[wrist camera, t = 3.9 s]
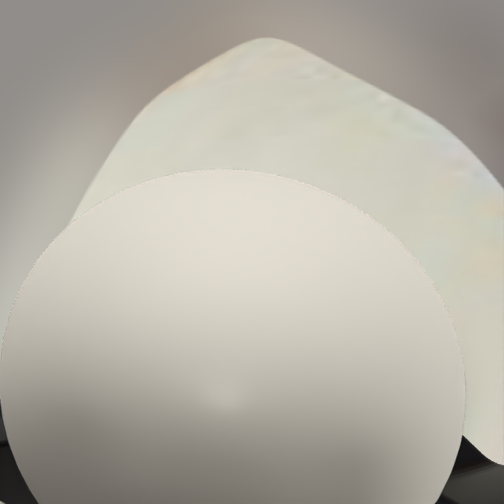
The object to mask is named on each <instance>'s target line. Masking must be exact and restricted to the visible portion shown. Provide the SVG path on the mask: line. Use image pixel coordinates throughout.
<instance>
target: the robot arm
mask: <svg viewBox="0 0 504 504" xmlns="http://www.w3.org/2000/svg"><path fill="white" fill-rule="evenodd" d="M0 504H39V503H38V502H37V500H36V499H35V497H34V496H33V494H32V493H31V491H30V489H29V487H28V486H27V484H26V482H25V480H24V478H23V476H22V474H21V472H20V470H19V468H18V466H17V463H16V461H15V458H14V455H13V453H12V450H11V447H10V444H9V442H8V438H7V434H6V430H5V426H4V421H3V417H2V409H1V401H0ZM435 504H504V465H500V464H497V463H495V462H493V461H491V460H490V459H488V458H487V457H485V456H484V455H483V454H482V453H481V452H480V451H479V450H478V449H477V448H476V447H475V446H474V445H472V444H471V443H470V442H469V441H468V440H467V439H466V438H465V437H464V436H463V435H462V438H461V443H460V447H459V450H458V454H457V457H456V460H455V463H454V466H453V468H452V471H451V474H450V476H449V478H448V480H447V482H446V484H445V486H444V488H443V490H442V492H441V494H440V496H439V498H438V500H437V501H436V503H435Z"/></svg>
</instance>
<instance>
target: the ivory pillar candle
mask: <svg viewBox="0 0 504 504" xmlns="http://www.w3.org/2000/svg"><path fill="white" fill-rule="evenodd" d="M0 401H1V409H2V417H3V421H4V426H5V430H6V434H7V438H8V442H9V444H10V447H11V450H12V453H13V455H14V458H15V461H16V463H17V466H18V468H19V470H20V472H21V474H22V476H23V478H24V480H25V482H26V484H27V486H28V487H29V489H30V491H31V493H32V494H33V496H34V497H35V499H36V500H37V502H38V503H39V504H435V503H436V501H437V500H438V498H439V496H440V494H441V492H442V490H443V488H444V486H445V484H446V482H447V480H448V478H449V476H450V474H451V471H452V468H453V466H454V463H455V460H456V457H457V454H458V450H459V447H460V443H461V438H462V433H463V427H464V421H465V411H466V380H465V372H464V365H463V358H462V352H461V348H460V345H459V341H458V338H457V334H456V331H455V328H454V324H453V322H452V320H451V317H450V315H449V313H448V311H447V308H446V306H445V304H444V302H443V300H442V298H441V296H440V294H439V292H438V290H437V289H436V287H435V286H434V284H433V283H432V281H431V280H430V278H429V277H428V275H427V274H426V272H425V271H424V269H423V268H422V266H421V265H420V264H419V263H418V261H417V260H416V259H415V258H414V257H413V256H412V255H411V253H410V252H409V251H408V250H407V249H406V248H405V247H404V246H403V244H402V243H401V242H400V241H399V240H398V239H397V238H395V237H394V236H393V235H392V234H391V233H390V232H388V231H387V230H386V229H385V228H384V227H383V226H381V225H380V224H379V223H378V222H377V221H375V220H374V219H373V218H372V217H370V216H368V215H367V214H365V213H364V212H362V211H361V210H359V209H358V208H356V207H354V206H353V205H351V204H350V203H348V202H346V201H345V200H343V199H341V198H339V197H337V196H334V195H332V194H330V193H328V192H326V191H324V190H321V189H319V188H317V187H315V186H312V185H309V184H306V183H303V182H299V181H296V180H293V179H290V178H286V177H283V176H279V175H273V174H268V173H262V172H256V171H249V170H231V169H209V170H198V171H188V172H180V173H176V174H172V175H167V176H163V177H159V178H155V179H151V180H148V181H145V182H143V183H140V184H137V185H135V186H132V187H130V188H127V189H124V190H122V191H120V192H118V193H116V194H114V195H113V196H111V197H109V198H107V199H105V200H103V201H102V202H100V203H98V204H96V205H95V206H93V207H92V208H91V209H89V210H88V211H86V212H85V213H84V214H82V215H81V216H80V217H78V218H77V219H76V220H74V221H73V222H72V223H71V224H70V225H69V226H68V227H67V228H65V229H64V230H63V231H62V232H61V234H59V235H58V236H57V237H56V238H55V239H54V240H53V241H52V242H51V244H50V245H49V246H48V247H47V249H46V250H45V251H44V252H43V254H42V255H41V256H40V257H39V259H38V260H37V261H36V263H35V264H34V266H33V267H32V269H31V271H30V272H29V274H28V276H27V277H26V279H25V281H24V283H23V284H22V286H21V288H20V290H19V293H18V295H17V297H16V300H15V302H14V304H13V307H12V309H11V312H10V315H9V318H8V322H7V326H6V329H5V333H4V337H3V343H2V350H1V357H0Z"/></svg>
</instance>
